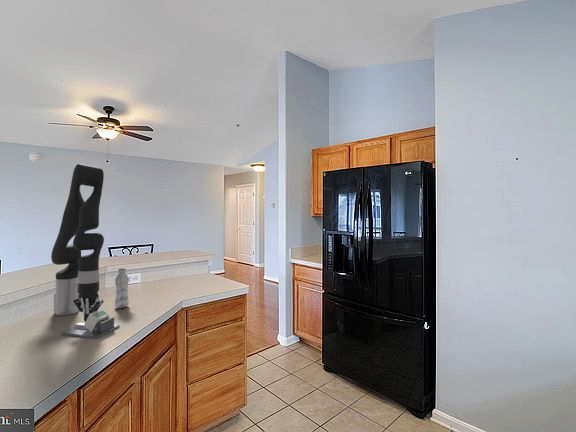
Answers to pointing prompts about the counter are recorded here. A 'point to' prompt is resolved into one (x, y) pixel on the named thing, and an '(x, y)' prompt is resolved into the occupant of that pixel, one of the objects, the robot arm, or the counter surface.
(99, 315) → the block
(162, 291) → the counter surface
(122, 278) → the plastic bottle
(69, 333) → the rail plate
